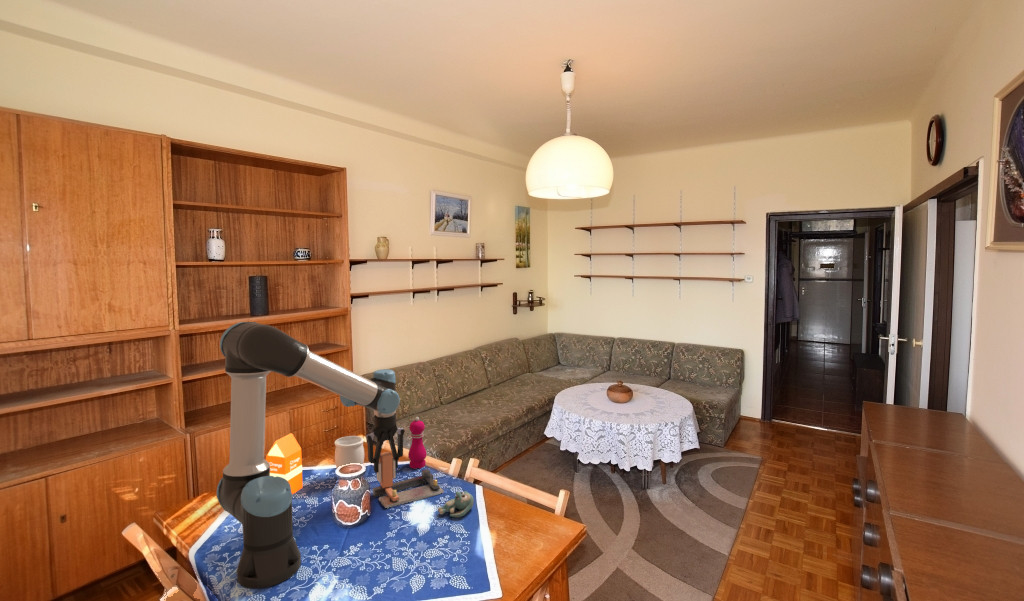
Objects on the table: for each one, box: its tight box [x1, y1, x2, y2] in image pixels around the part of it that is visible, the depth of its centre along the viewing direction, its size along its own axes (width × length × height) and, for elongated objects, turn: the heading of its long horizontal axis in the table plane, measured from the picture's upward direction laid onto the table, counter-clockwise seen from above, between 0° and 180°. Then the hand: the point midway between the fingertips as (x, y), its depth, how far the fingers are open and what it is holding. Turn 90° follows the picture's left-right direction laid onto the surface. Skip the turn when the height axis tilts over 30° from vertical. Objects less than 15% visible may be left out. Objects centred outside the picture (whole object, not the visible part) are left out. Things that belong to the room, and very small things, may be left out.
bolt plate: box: [378, 484, 444, 509], centre depth 169 cm, size 7×21×1 cm, turn 123°
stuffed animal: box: [437, 490, 474, 518], centre depth 159 cm, size 11×7×12 cm
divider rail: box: [372, 468, 440, 498], centre depth 172 cm, size 11×22×4 cm, turn 123°
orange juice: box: [265, 432, 303, 495], centre depth 172 cm, size 8×9×20 cm
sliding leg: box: [379, 451, 399, 501], centre depth 168 cm, size 12×4×13 cm, turn 33°
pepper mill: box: [407, 416, 427, 470], centre depth 194 cm, size 7×7×20 cm
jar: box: [334, 435, 365, 469], centre depth 182 cm, size 11×10×15 cm
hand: (386, 478), depth 171 cm, fingers open, 4 cm apart
